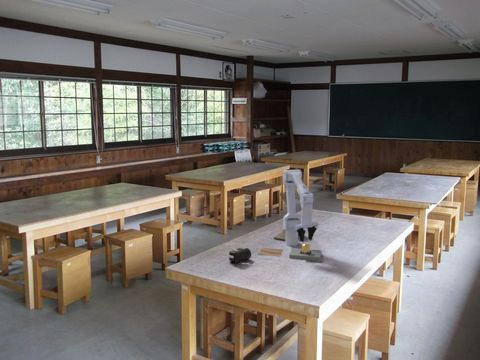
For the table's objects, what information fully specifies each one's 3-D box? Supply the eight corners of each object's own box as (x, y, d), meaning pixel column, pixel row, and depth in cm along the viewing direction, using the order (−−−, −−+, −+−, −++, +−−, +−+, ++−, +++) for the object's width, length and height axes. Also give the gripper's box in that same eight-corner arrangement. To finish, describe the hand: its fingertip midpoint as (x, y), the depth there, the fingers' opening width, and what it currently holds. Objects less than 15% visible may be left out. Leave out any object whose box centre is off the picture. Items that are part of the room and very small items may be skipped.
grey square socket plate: (292, 252, 258) (292, 248, 258) (321, 254, 255) (321, 250, 254) (289, 259, 247) (289, 254, 246) (319, 261, 243) (319, 257, 243)
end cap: (239, 266, 236) (239, 253, 235) (228, 263, 240) (228, 250, 239) (251, 261, 244) (251, 248, 242) (240, 258, 248) (240, 246, 247)
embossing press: (305, 234, 296) (307, 187, 291) (286, 242, 277) (287, 193, 272) (290, 231, 302) (292, 185, 297) (271, 239, 283) (272, 190, 279)
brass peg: (299, 256, 251) (300, 244, 250) (305, 255, 254) (306, 242, 253) (305, 258, 248) (305, 246, 247) (311, 257, 250) (311, 244, 249)
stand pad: (262, 249, 263) (262, 248, 263) (283, 251, 260) (283, 249, 260) (257, 256, 252) (257, 254, 252) (280, 257, 249) (280, 256, 249)
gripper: (300, 219, 240) (300, 244, 242) (322, 216, 248) (321, 240, 250) (292, 216, 246) (291, 241, 248) (313, 213, 253) (312, 237, 256)
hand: (306, 241), depth 249 cm, fingers open, 5 cm apart
